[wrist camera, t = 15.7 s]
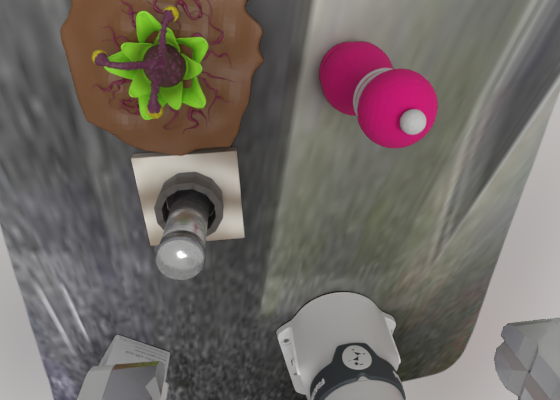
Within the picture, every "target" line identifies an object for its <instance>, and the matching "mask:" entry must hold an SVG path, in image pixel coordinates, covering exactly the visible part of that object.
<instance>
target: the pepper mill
mask: <svg viewBox="0 0 560 400" xmlns="http://www.w3.org/2000/svg"><path fill="white" fill-rule="evenodd" d="M319 76H320V82H321V85H322V89H323V92H324V95H325V97H326V99H327V100H328V102H329V103H330V104H331V105H332V106H333V107H334V108H335V109H337V110H338V111H340V112H342V113H344V114H348V115H357V116H358V122H359V125H360V127H361V129H362V130H363V132H364V133H365V134H366V136H367V137H368V138H369V139H370V140H372V141H373V142H375V143H376V144H378V145H381V146H383V147H388V148H402V147H406V146H409V145H412V144H414V143H415V142H417V141H419V140H420V139H422V138H423V137H424V136H425V135H426V134H427V133H428V131H429V130H430V129H431V127H432V125H433V123H434V121H435V118H436V115H437V109H438V103H437V96H436V93H435V91H434V89H433V87H432V85H431V84H430V82H428V81H427V80H426V79H425V78H424V77H423V76H422V75H420V74H419V73H417V72H414V71H412V70H407V69H393V67H392V64H391V62H390V60H389V58H388V56H387V55H386V54H385V53H384V52H383V51H382V50H381V49H380V48H378V47H377V46H375V45H373V44H371V43H368V42H344V43H341V44H338V45H336V46H334V47H333V48H332V49H330V50H329V51H328V52H327V54H326V55H325V56H324V58H323V60H322V62H321V65H320V71H319Z"/></svg>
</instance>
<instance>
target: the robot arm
mask: <svg viewBox="0 0 560 400" xmlns="http://www.w3.org/2000/svg"><path fill="white" fill-rule="evenodd" d="M395 327H396V322H395V319H394V318H393V317H392V316H391V315H389V314H387V313H384V312H382V311H381V310H379V308H378V307H377V306H376V305H375V304H374V303H373V302H372V301H371V300H370V299H368V298H366V297H364V296H362V295H359V294H356V293H350V292H337V293H331V294H327V295H323V296H321V297H318V298H316V299H314V300H312V301H311V302H309V303H308V304H306V305H305V306H304V307H303V308H302V309H301V310H300V311H299V312H298V313H297V314H296V316H295V317H294V318H293V319H292V320H291V321H289V322H288V323H286V324H284V325H283V326H281V327H280V328H279V329H278V330H277V332H276V334H277V338H278V341H279V344H280V347H281V350H282V353H283V356H284V359H285V362H286V365H287V368H288V371H289V374H290V377H291V380H292V383H293V386H294V389H295V391H296V392H298V393H300V394H304V395H306V396H307V399H308V400H405V393H404V390H403V385H402V383H401V380H400V378H399V377H398V375H397V372H396V371H397V369H398V366H399V364H400V363H401V360H400V356H399V353H398V350H397V348H396V345H395V342H394V339H393V337H392V334H393V332H394V329H395ZM501 336H502V338H503V339H504V342H503V343H502V344H501V345H500V346H499V347H497V349H496V353H495V357H494V361H495V367H496V371H497V373H498V376H499V378H500V380H501V381H502V383H503V385H504V386H505V388H506V389H507V390H509V391H511V392H512V393H514V394H515V395H517V396H518V400H560V318H553V319H541V320H533V321H525V322H516V323H508V324H507V325H506V326H504V327H503V330H502V333H501ZM164 376H165V369H164V365H163V362H162V361H151V362H138V363H126V364H115V365H104V366H93V367H92V368H91V369H90V370H89V372H88V373H87V375H86V377H85V380H84V383H83V385H82V388H81V391H80V393H79V396H78V398H77V400H171V394H170V388H169V384H167V383H166V382H164Z"/></svg>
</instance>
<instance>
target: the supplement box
mask: <svg viewBox="0 0 560 400" xmlns="http://www.w3.org/2000/svg"><path fill="white" fill-rule="evenodd" d="M169 359H170V352H167V351H164V350H162V349H159V348H156V347H153V346H150V345H147V344H144V343H141V342H138V341H135V340H132V339H129V338H127V337H124V336H121V335H116V336H115V338H114V339H113V341H112V343H111V344H110V346H109V348H108V349H107V351H106V353H105V354H104V356H103V358H102V360H101V361H100V363H99V365H98V366H104V365H115V364H126V363H138V362H151V361H162V362H163V365H164V369H165V376H164V382H165V381H166V375H167V370H168V364H169Z"/></svg>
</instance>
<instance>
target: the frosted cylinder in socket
mask: <svg viewBox="0 0 560 400" xmlns="http://www.w3.org/2000/svg"><path fill="white" fill-rule="evenodd" d="M209 208H210V199H209V198H208V197H207V195H206V194H203V193H201V192H198V191H196V190H193V189H189V190H178V191H177V192H176V193H175V195H174V198H173V201H172V205H171V208H170V212H169V215H168V219H167V222H166V226H165V229H164V233H163V236H162V239H161V241H160V243H159V246H158V250H157V253H156V264H157V267H158V269H159V270H160V271H161V273H163V274H164V275H165V276H167V277H169V278H172V279H176V280H186V279H190V278H192V277H194V276H196V275H197V274H198V273H199V272H200V271H201V269H202V267H203V265H204V261H205V252H206V248H205V243H206V234H207V225H208V217H209Z"/></svg>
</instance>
